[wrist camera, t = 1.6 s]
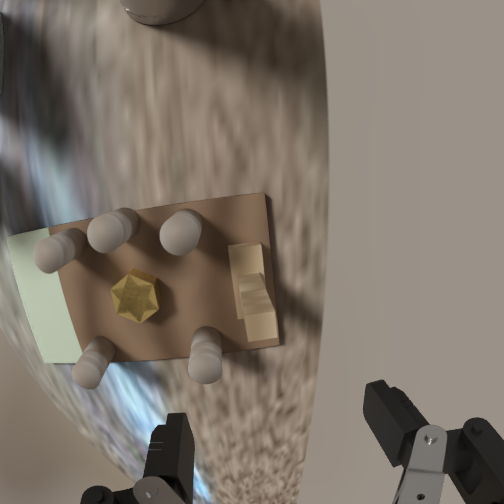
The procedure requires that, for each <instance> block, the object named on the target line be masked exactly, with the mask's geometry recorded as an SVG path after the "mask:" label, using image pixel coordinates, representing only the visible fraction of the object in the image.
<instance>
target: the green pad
mask: <svg viewBox="0 0 504 504" xmlns="http://www.w3.org/2000/svg"><path fill="white" fill-rule="evenodd" d="M51 227H52V226H51ZM48 228H49V227H46V228H42V229H37V230H33V231H28V232H24V233H20V234H15V235H11V236H8V237H6V238H7V243H8V248H9V253H10V257H11V262H12V266H13V270H14V274H15V277H16V281H17V285H18V288H19V292H20V295H21V299H22V302H23V305H24V308H25V311H26V314H27V317H28V320H29V323H30V326H31V329H32V332H33V334H34V337H35V340H36V342H37V345H38V348H39V350H40V353H41V355H42V358H43V360H44V362H45V363H76V362H77V361H78V359H79V358H80V356H81V355H82V350H81V347H80V345H79V342H78V339H77V336H76V333H75V330H74V327H73V324H72V321H71V318H70V315H69V312H68V308H67V305H66V302H65V298H64V295H63V291H62V287H61V283H60V280H59V276H58V272H57V271H56V272H54V273H51V274H47V273H44V272H42V271H41V270H40V269H39V268H38V267H37V266H36V264H35V261H34V258H33V250H34V247H35V245H36V243H37V242H38V241H40V240H42V239H45V238H47V237H49V236H50V235H49V230H48Z"/></svg>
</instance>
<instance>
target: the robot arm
mask: <svg viewBox="0 0 504 504" xmlns="http://www.w3.org/2000/svg"><path fill="white" fill-rule="evenodd" d="M203 1H204V0H120V2H121V4H122V6H123V7H124V9H125V11H126V12H127V14H128V15H129V16H130V17H131V18H132V19H134V20H135V21H137V22H140V23H143V24H148V25H162V24H168V23H172V22H175V21H178V20H180V19H183V18H185V17H187V16H188V15H190V14H191V13H193V12H194V11H195V10H196V9H197V8H198V7H199V6H200V5H201V4H202V3H203ZM363 414H364V417H365V420H366V421H367V423H368V425H369V427H370V428H371V430H372V432H373V433H374V435H375V437H376V439H377V440H378V442H379V444H380V446H381V447H382V449H383V451H384V452H385V454H386V456H387V458H388V459H389V461H390V463H391V464H392V466H393V467H396V466H399V465H402V466H403V468H404V469H403V472H402V475H401V479H400V482H399V485H398V488H397V491H396V494H395V497H394V500H393V503H392V504H439V501H440V497H441V492H442V487H443V482H444V476H445V474H448V475H449V476H450V478H451V480H452V481H453V483H454V485H455V486H456V488H457V490H458V491H459V493H460V495H461V497H462V498H463V500H464V502H465V503H466V504H504V440H503V439H502V438H501V436H500V435H499V434H498V433H497V432H496V430H495V429H494V428H493V427H492V426H491V425H490V423H489V422H488V421H487V420H485V419H483V418H471V419H469V420H467V421H466V422H465V424H464V426H463V428H461V429H455V430H449V431H445V430H444V429H443V428H441V427H439V426H436V425H430V424H429V423H428V422H427V421H426V419H425V418H424V417H423V415H422V414H421V413H420V412H419V411H418V409H417V408H416V407H415V406H414V405H413V403H412V402H411V400H409V398H408V397H407V396H406V394H405V393H404V392H403V391H401V390H400V389H398V388H396V387H392V388H390V387H389V386H388V385H387V384H386V382H385V381H384V380H378V381H375V382H371V383H368V384H366V388H365V396H364V404H363ZM194 452H195V444H194V437H193V434H192V431H191V428H190V425H189V421H188V418H187V415H186V413H169V414H168V415H167V421H166V425H158V426H157V427H156V428H155V429H154V431H153V432H152V434H151V439H150V444H149V451H148V454H147V459H146V464H145V469H144V475H143V478H142V479H140V480H139V481H137V482H136V484H135V485H134V487H133V488H130V489H126V490H121V491H115V492H112V491H111V490H110V489H108V488H107V487H104V486H93V487H90V488H88V489H87V490H86V491H85V492H84V493H83V495H82V498H81V503H80V504H193V475H194Z"/></svg>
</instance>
